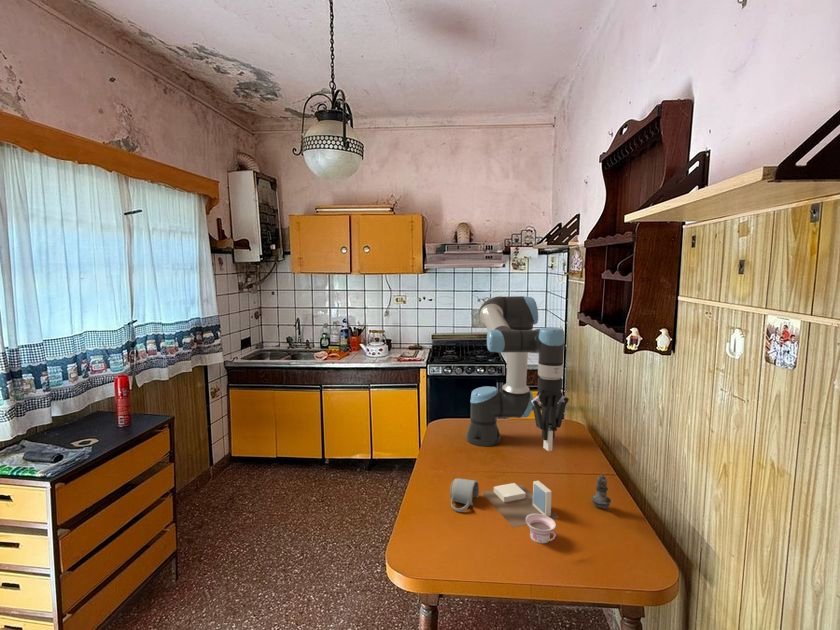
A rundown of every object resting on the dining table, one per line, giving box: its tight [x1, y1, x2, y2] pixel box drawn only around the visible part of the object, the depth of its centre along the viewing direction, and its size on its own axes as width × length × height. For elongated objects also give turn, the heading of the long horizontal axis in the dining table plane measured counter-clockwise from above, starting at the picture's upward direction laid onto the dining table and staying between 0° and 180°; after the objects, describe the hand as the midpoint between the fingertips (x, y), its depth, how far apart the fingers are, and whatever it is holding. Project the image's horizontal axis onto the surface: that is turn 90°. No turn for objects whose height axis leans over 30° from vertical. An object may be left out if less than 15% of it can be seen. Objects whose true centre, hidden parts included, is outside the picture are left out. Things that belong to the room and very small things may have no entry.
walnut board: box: [480, 484, 560, 529], centre depth 139 cm, size 21×16×1 cm
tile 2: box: [532, 480, 552, 516], centre depth 135 cm, size 7×2×8 cm, turn 19°
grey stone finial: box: [591, 473, 612, 512], centre depth 137 cm, size 6×6×12 cm
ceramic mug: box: [449, 478, 480, 513], centre depth 140 cm, size 11×8×8 cm
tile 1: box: [493, 482, 526, 502], centre depth 144 cm, size 7×2×8 cm
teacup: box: [526, 513, 557, 544], centre depth 122 cm, size 12×12×6 cm
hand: (547, 449), depth 138 cm, fingers closed
